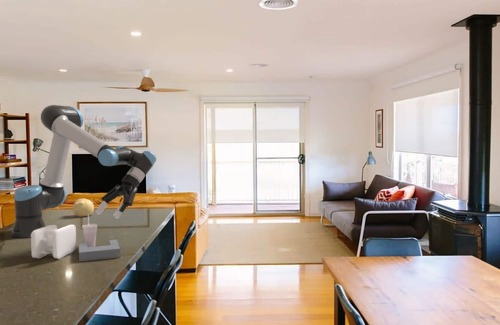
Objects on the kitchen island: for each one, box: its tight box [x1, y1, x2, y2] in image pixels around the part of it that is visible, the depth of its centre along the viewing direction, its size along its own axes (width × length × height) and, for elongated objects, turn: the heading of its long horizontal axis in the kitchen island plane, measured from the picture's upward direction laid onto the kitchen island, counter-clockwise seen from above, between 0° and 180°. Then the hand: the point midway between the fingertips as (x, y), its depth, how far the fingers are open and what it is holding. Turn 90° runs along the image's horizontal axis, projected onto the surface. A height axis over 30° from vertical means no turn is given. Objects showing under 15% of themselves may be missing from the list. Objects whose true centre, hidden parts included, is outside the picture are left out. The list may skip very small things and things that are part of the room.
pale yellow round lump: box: [72, 197, 95, 218], centre depth 252 cm, size 12×12×11 cm
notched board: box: [78, 239, 121, 262], centre depth 170 cm, size 16×15×4 cm
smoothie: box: [81, 215, 99, 247], centre depth 180 cm, size 6×6×14 cm
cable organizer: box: [30, 224, 77, 260], centre depth 167 cm, size 15×11×12 cm
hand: (105, 215), depth 185 cm, fingers open, 13 cm apart
